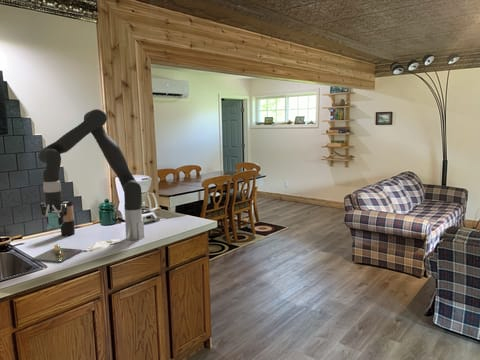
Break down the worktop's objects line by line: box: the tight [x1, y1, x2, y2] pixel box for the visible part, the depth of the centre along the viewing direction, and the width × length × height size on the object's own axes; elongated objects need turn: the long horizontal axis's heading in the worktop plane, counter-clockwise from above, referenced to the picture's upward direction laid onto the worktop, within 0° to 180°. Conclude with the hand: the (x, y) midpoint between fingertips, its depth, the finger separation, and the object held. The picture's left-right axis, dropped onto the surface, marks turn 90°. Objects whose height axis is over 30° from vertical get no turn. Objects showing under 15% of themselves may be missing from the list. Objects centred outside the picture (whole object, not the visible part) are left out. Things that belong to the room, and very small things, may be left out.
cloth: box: [81, 238, 125, 253], centre depth 194 cm, size 26×14×2 cm, turn 134°
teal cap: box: [46, 211, 64, 230], centre depth 175 cm, size 10×6×7 cm, turn 167°
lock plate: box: [31, 244, 83, 264], centre depth 178 cm, size 16×16×6 cm
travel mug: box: [59, 199, 76, 237], centre depth 212 cm, size 8×8×20 cm
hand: (55, 224), depth 176 cm, fingers closed on teal cap, 5 cm apart
